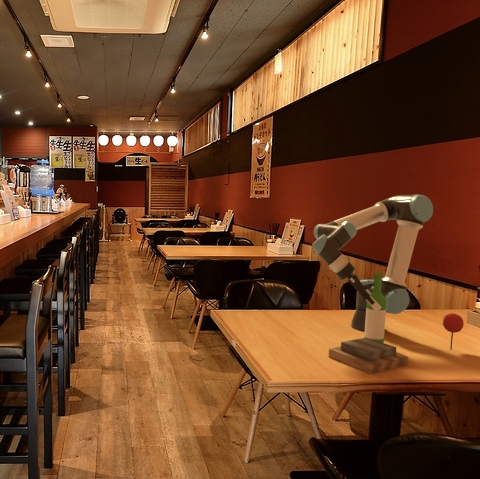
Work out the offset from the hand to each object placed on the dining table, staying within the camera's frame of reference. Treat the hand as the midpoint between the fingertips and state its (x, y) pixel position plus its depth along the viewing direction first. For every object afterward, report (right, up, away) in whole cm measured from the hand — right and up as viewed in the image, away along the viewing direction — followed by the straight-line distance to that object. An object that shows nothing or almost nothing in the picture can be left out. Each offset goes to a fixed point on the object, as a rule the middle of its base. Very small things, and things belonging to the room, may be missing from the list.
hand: (377, 306), depth 190 cm
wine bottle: (-1, -17, +2) cm, 17 cm away
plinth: (-9, -17, -19) cm, 27 cm away
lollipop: (+30, -18, 0) cm, 35 cm away
